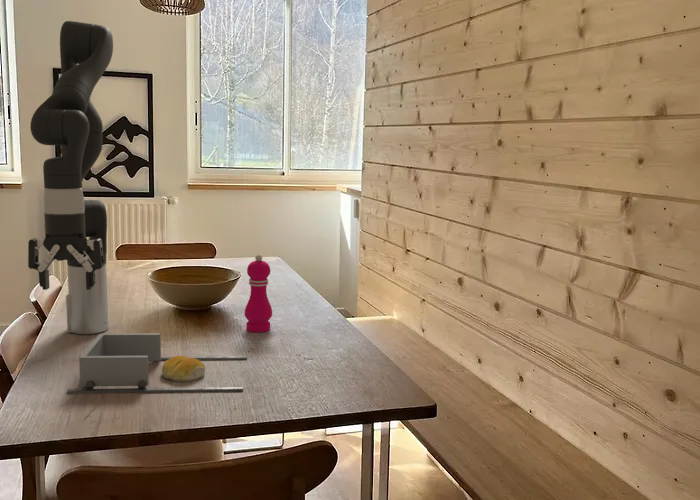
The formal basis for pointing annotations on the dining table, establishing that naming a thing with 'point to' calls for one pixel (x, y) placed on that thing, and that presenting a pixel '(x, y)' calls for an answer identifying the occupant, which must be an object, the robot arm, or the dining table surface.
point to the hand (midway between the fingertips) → (68, 289)
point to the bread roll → (183, 369)
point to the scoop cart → (119, 360)
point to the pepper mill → (258, 297)
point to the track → (142, 390)
